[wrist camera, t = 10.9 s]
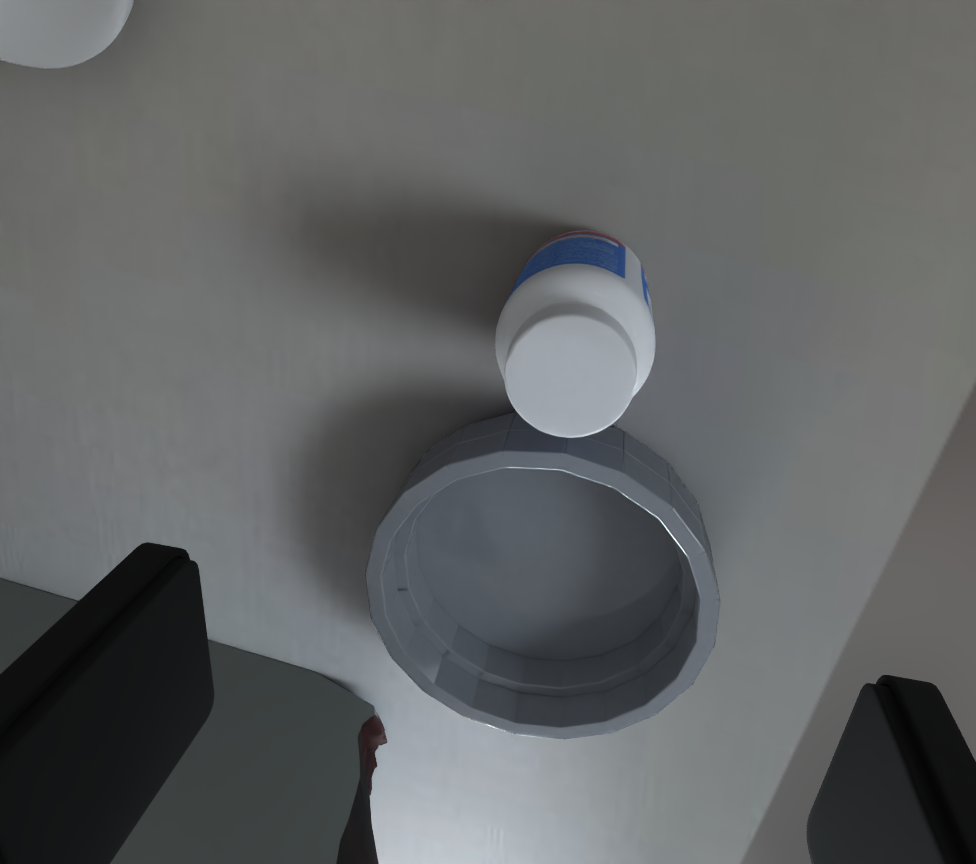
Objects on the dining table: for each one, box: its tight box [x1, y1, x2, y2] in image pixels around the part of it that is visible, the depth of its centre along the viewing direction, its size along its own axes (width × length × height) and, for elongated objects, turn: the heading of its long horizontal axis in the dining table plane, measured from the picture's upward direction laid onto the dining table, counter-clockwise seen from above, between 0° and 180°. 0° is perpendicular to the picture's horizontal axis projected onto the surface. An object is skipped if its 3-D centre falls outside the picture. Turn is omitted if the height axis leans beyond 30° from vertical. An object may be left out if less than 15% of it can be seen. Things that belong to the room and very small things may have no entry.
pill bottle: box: [495, 230, 655, 438], centre depth 26 cm, size 6×5×10 cm
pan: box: [365, 412, 720, 739], centre depth 34 cm, size 16×16×4 cm
